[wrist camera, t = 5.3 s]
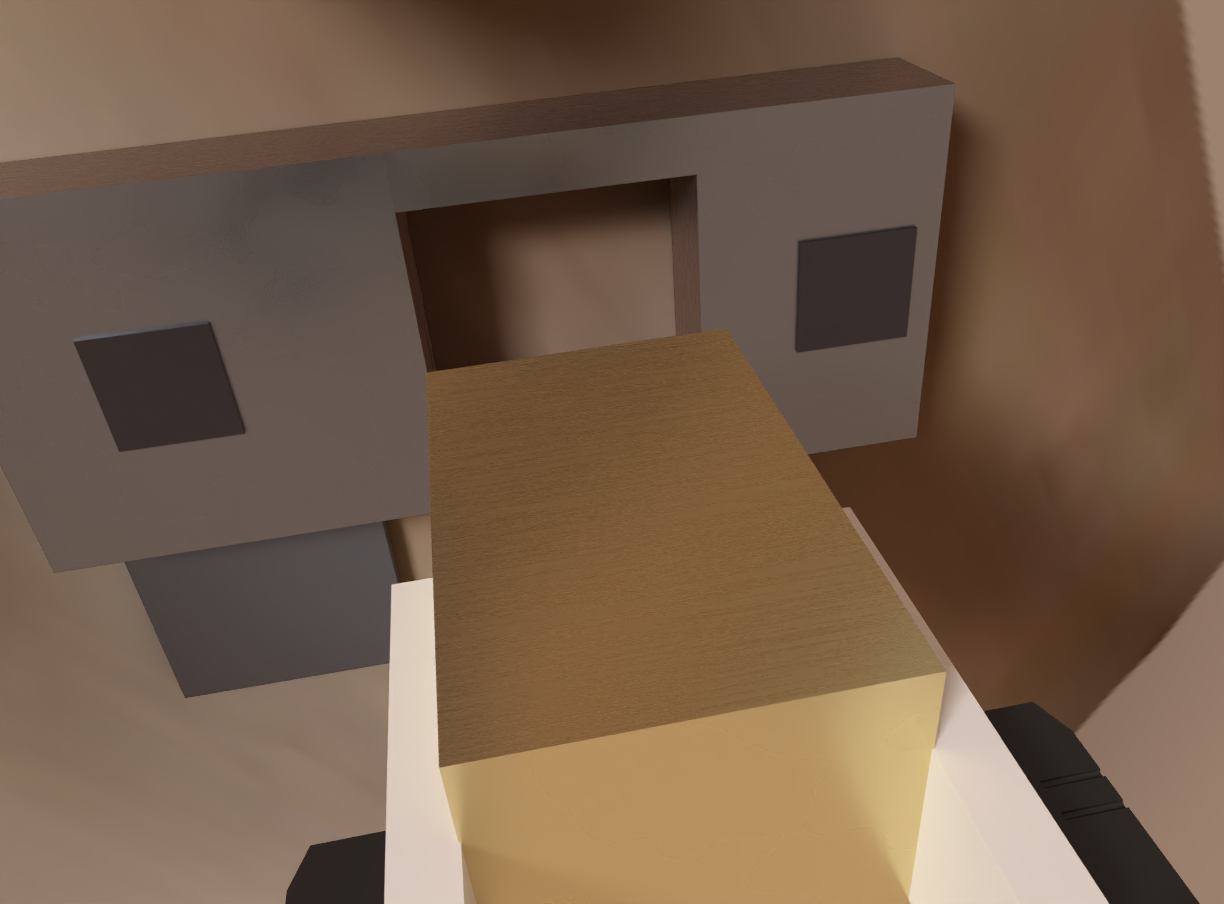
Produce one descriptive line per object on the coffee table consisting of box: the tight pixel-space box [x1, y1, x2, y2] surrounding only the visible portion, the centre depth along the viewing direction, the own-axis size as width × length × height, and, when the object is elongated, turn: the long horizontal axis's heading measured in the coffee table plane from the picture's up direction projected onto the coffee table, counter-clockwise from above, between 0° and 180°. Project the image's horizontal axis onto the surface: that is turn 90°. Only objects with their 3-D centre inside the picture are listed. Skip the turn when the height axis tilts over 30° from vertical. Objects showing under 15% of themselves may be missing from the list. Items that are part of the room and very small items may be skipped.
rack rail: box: [0, 58, 956, 573], centre depth 24 cm, size 22×9×3 cm, turn 94°
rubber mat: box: [125, 521, 401, 698], centre depth 28 cm, size 7×7×1 cm
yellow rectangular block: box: [426, 328, 947, 904], centre depth 14 cm, size 5×5×8 cm
